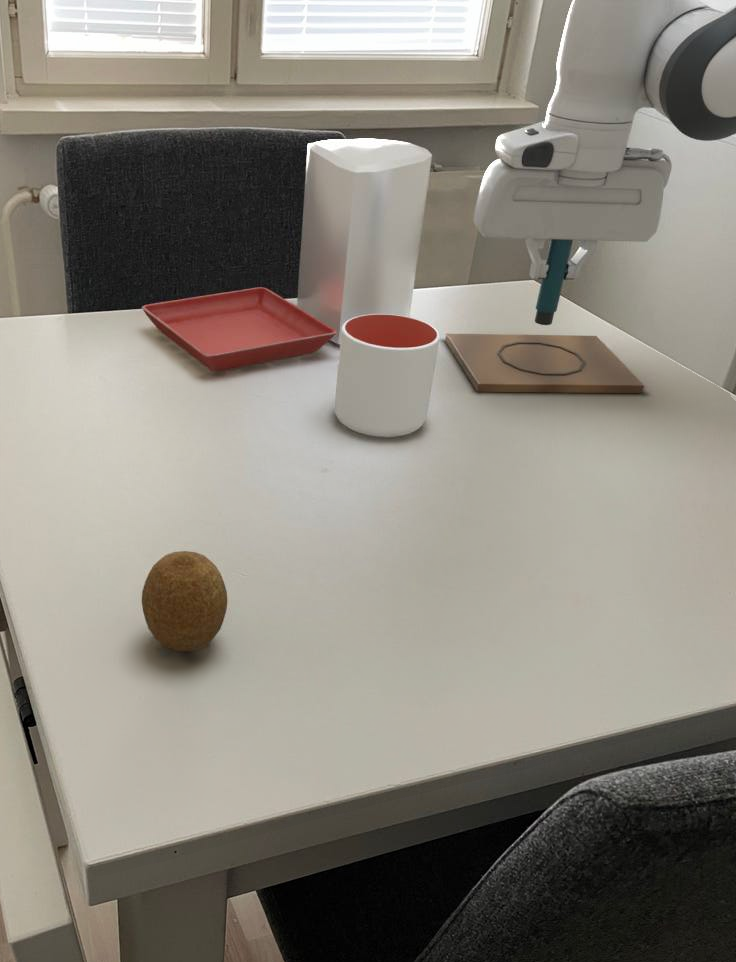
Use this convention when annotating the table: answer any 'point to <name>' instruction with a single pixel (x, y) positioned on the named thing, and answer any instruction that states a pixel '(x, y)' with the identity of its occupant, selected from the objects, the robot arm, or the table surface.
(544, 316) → the marker
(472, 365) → the pad
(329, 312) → the silvery white canister
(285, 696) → the table surface
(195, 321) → the plant saucer
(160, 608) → the fruit
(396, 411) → the cup
